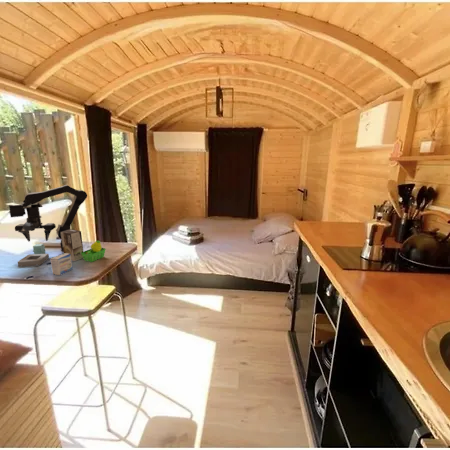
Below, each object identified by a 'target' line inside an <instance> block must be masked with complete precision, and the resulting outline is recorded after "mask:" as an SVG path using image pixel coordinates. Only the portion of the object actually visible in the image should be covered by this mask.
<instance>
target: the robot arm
mask: <svg viewBox="0 0 450 450" xmlns="http://www.w3.org/2000/svg"><path fill="white" fill-rule="evenodd" d="M65 193H68V194H70V195H73V198H72V199H73V201H72V203H71V206H70V208H69V210H68V212H67V215H66V217H65V219H64V220H63V223H61V224H58V225H57V226H56V224H55V223H52V222H51V223H46V224H43V222H42V219H41V218H42V215H40V214H41V213H40V208H43V207H44V206H43V204H40V202H41V201H43V200H45V199H47V198H52V197H54V196H58V195H61V194H65ZM87 197H88V194H87V192H86V191H84V190H83V189H75V188H73V187H71V186H69V185H67V184H64V185H62V186H58V187H56V188H55V187H54V188H51V189H47V190H43V191H35V192H34V191H33V192H28V193H26V194H24V198H23V199H24V200H23V201H22V202H21V204H9V205H8V207H9V215H10V218H19V217H21V218H22V217H24V216H25V215H26V216H27V218H26V222H25V223H20V224H18V225H15V226H14V230H15V232H18V233H20V234H22V235H23V236H24V237H25V239H26V240H27V241H28V242H29V243H30V242H31V234H30V232H34V231H35V230H36V229H37V230H38V229H44V230H43V232H44V237H45V241H46V242H47V241H49V237H50V234H51V232H52V230H54V229H55V231H56V235H57V237H58V239H60V242H59V245H60V251H62V252H63V245H62V239H61V232H62V231H66V230H70V229H71V226H72V224H73V222H74V219H75V217H76V216H77V212H78V211H79V209H80V207H81V205H82V204H83V203H84V202H85V201H86V199H87ZM56 227H57V228H56Z"/></svg>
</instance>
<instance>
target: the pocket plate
mask: <svg viewBox="0 0 450 450" xmlns="http://www.w3.org/2000/svg"><path fill="white" fill-rule="evenodd" d="M49 259H50V254H49V253H44V254H34V253H32V254H31V253H30V254H29V253H28V254H27V255H26V256H24V257H23V258H21V259H19V260H18V261H17V266H18V267H31V266H41V265H42V264H44V263H45V262H46V261H47V260H49Z"/></svg>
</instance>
